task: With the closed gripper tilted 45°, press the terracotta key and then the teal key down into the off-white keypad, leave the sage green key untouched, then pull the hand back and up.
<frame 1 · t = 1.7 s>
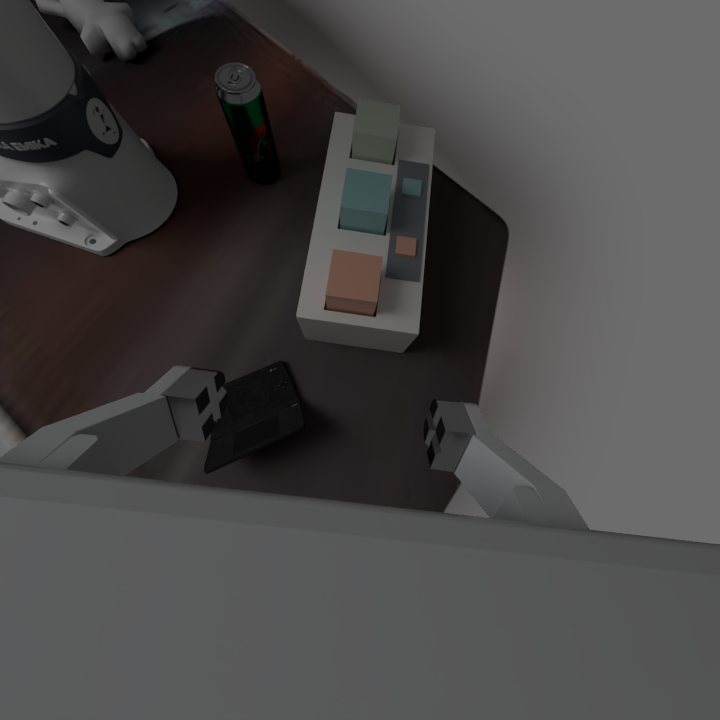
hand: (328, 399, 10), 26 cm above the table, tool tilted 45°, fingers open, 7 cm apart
sage green key: (375, 137, 34), point 9 cm above the table, slide at 0.0 cm
terracotta key: (353, 286, 29), point 9 cm above the table, slide at 0.0 cm
soda can: (264, 173, 42), on the table
bunny figurine: (108, 42, 46), on the table
keypad: (366, 253, 40), on the table
teal key: (365, 206, 32), point 9 cm above the table, slide at 0.0 cm
handheld gaming console: (256, 411, 35), on the table
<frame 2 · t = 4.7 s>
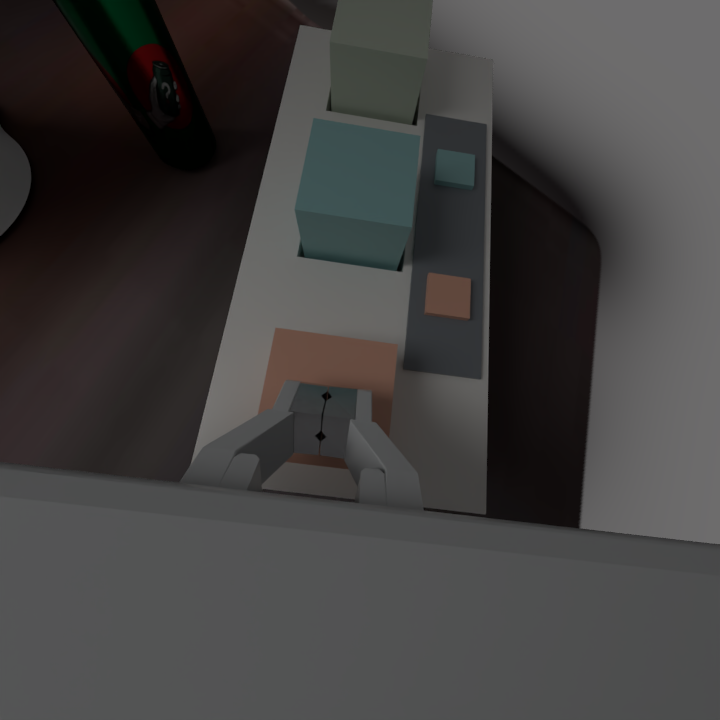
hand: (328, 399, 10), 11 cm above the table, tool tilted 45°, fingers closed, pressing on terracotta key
sage green key: (378, 69, 17), point 9 cm above the table, slide at 0.0 cm
terracotta key: (330, 401, 13), point 8 cm above the table, slide at 0.7 cm, touching gripper
soda can: (191, 153, 25), on the table
keypad: (363, 290, 23), on the table
teal key: (357, 208, 15), point 9 cm above the table, slide at 0.0 cm
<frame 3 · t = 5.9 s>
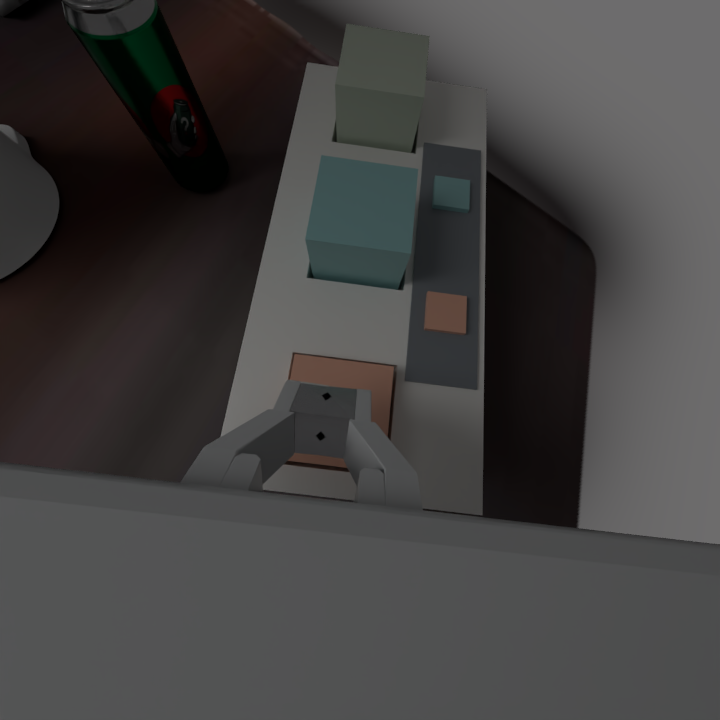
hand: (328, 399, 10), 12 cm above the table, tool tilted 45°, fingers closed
sage green key: (379, 103, 18), point 9 cm above the table, slide at 0.0 cm
terracotta key: (338, 413, 16), point 7 cm above the table, slide at 2.2 cm
soda can: (205, 176, 27), on the table
keypad: (367, 303, 24), on the table
teal key: (361, 233, 16), point 9 cm above the table, slide at 0.0 cm
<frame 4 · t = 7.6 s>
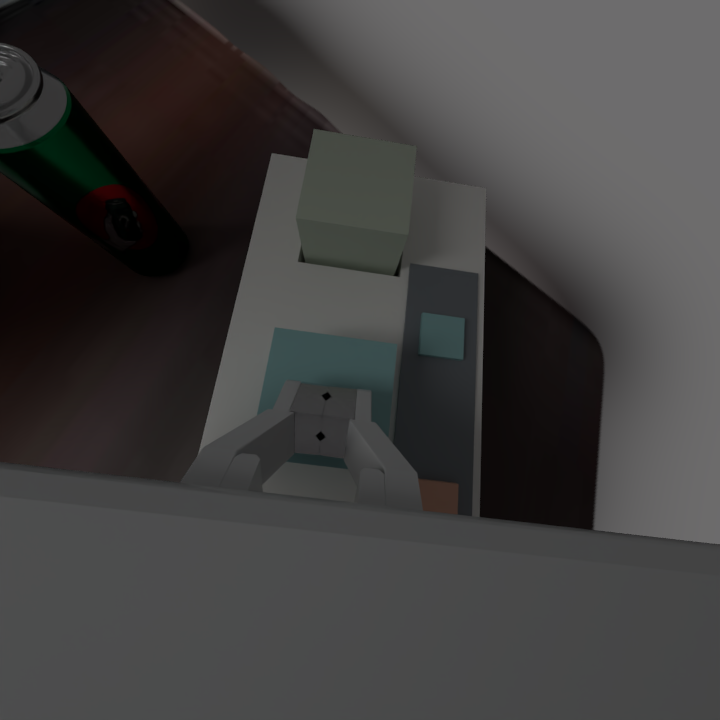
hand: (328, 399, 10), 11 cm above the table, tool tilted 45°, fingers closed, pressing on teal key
sage green key: (356, 215, 15), point 9 cm above the table, slide at 0.0 cm
soda can: (162, 254, 23), on the table
keypad: (346, 412, 21), on the table
teal key: (329, 401, 13), point 9 cm above the table, slide at 0.2 cm, touching gripper
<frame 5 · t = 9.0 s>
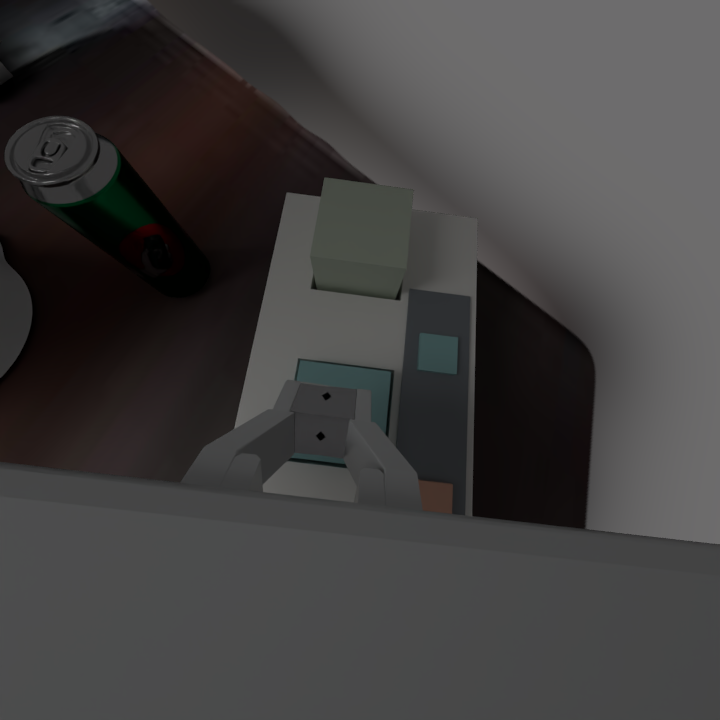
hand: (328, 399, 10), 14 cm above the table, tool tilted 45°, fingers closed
sage green key: (361, 247, 17), point 9 cm above the table, slide at 0.0 cm
soda can: (186, 276, 26), on the table
keypad: (354, 419, 23), on the table
teal key: (340, 414, 17), point 7 cm above the table, slide at 2.2 cm
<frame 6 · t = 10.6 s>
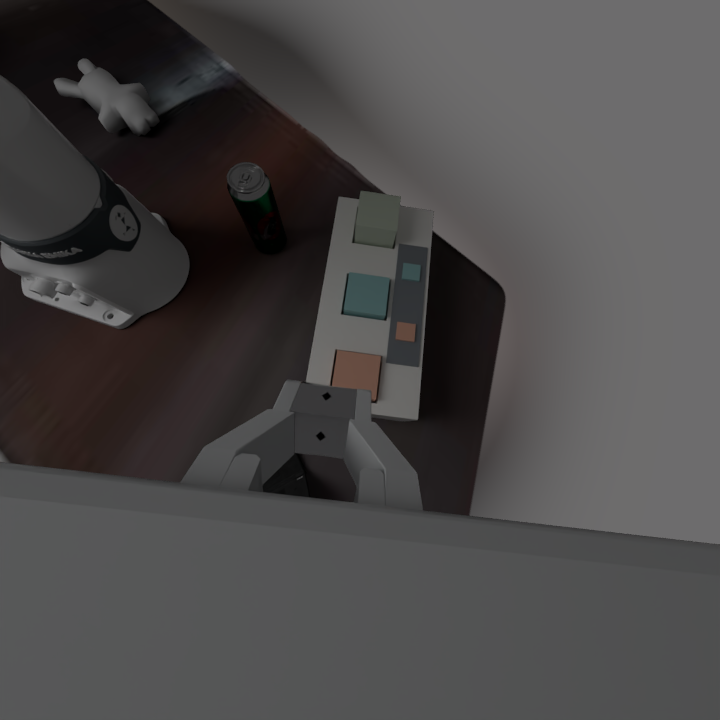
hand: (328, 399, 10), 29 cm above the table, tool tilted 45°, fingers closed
sage green key: (376, 223, 36), point 9 cm above the table, slide at 0.0 cm
terracotta key: (355, 378, 33), point 7 cm above the table, slide at 2.2 cm
soda can: (271, 243, 45), on the table
bunny figurine: (122, 116, 49), on the table
keypad: (368, 321, 42), on the table
teal key: (365, 301, 36), point 7 cm above the table, slide at 2.2 cm
handheld gaming console: (264, 483, 36), on the table
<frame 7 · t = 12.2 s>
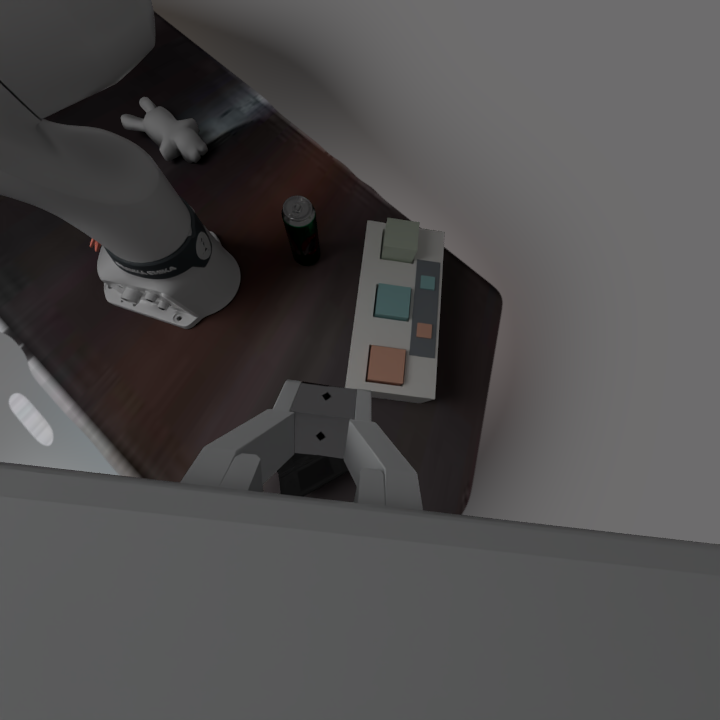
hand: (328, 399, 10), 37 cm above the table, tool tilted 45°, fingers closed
sage green key: (399, 243, 45), point 9 cm above the table, slide at 0.0 cm
terracotta key: (384, 367, 42), point 7 cm above the table, slide at 2.2 cm
soda can: (307, 256, 53), on the table
bunny figurine: (175, 145, 57), on the table
keypad: (390, 322, 51), on the table
teal key: (390, 306, 45), point 7 cm above the table, slide at 2.2 cm
handheld gaming console: (309, 453, 45), on the table
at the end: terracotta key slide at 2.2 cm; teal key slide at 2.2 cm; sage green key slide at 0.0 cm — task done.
